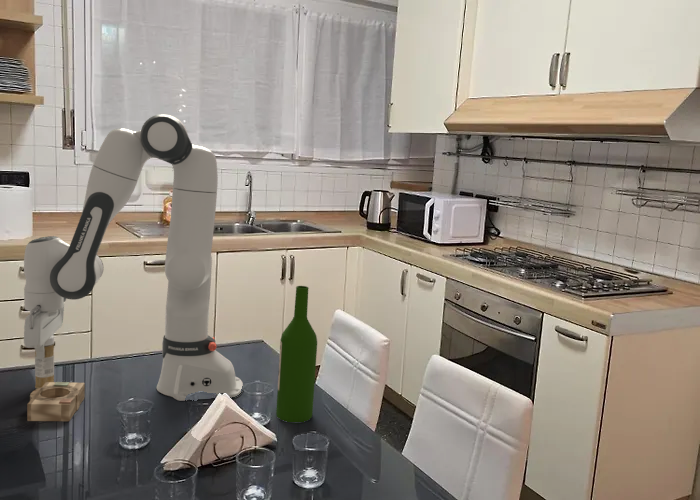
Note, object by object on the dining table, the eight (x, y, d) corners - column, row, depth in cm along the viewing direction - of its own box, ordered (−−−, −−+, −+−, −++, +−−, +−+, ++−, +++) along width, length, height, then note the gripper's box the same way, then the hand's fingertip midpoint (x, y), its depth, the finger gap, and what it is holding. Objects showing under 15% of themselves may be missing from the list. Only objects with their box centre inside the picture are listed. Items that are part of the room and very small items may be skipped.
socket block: (85, 398, 162) (85, 381, 162) (70, 421, 149) (70, 403, 148) (40, 397, 161) (41, 380, 160) (21, 420, 147) (21, 402, 146)
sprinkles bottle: (51, 382, 169) (51, 332, 167) (56, 388, 166) (56, 337, 164) (32, 385, 167) (32, 335, 165) (37, 391, 163) (36, 339, 161)
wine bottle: (277, 407, 165) (285, 282, 160) (313, 410, 165) (321, 284, 161) (274, 422, 156) (281, 289, 152) (311, 424, 156) (320, 292, 152)
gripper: (44, 311, 153) (45, 368, 155) (68, 292, 173) (68, 342, 175) (16, 311, 152) (16, 367, 154) (43, 292, 172) (43, 342, 174)
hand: (44, 354), depth 165 cm, fingers closed on sprinkles bottle, 4 cm apart
